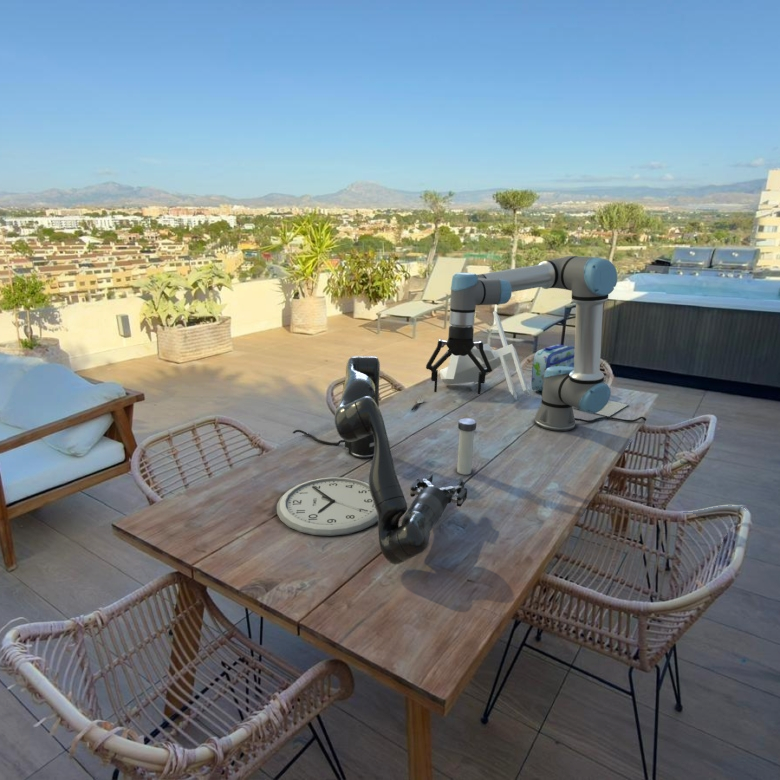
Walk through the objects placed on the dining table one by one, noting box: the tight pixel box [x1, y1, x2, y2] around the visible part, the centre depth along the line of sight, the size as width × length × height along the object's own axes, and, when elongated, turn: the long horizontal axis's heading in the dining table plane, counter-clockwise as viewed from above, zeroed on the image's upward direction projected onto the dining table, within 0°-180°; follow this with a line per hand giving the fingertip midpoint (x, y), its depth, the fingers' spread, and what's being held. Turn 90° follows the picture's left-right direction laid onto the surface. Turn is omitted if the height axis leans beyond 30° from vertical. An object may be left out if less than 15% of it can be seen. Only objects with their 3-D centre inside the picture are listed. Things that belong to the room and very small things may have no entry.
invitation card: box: [573, 399, 629, 417], centre depth 226 cm, size 21×1×15 cm
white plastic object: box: [438, 310, 531, 400], centre depth 245 cm, size 37×45×31 cm
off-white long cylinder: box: [456, 429, 475, 476], centre depth 162 cm, size 4×4×16 cm
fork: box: [410, 395, 426, 411], centre depth 223 cm, size 3×16×2 cm, turn 160°
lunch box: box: [530, 344, 575, 392], centre depth 247 cm, size 26×11×21 cm, turn 134°
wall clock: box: [276, 476, 378, 537], centre depth 142 cm, size 30×2×30 cm
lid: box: [457, 417, 477, 432], centre depth 159 cm, size 5×5×2 cm
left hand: (446, 480), depth 143 cm, fingers open, 8 cm apart
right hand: (457, 392), depth 165 cm, fingers open, 13 cm apart
